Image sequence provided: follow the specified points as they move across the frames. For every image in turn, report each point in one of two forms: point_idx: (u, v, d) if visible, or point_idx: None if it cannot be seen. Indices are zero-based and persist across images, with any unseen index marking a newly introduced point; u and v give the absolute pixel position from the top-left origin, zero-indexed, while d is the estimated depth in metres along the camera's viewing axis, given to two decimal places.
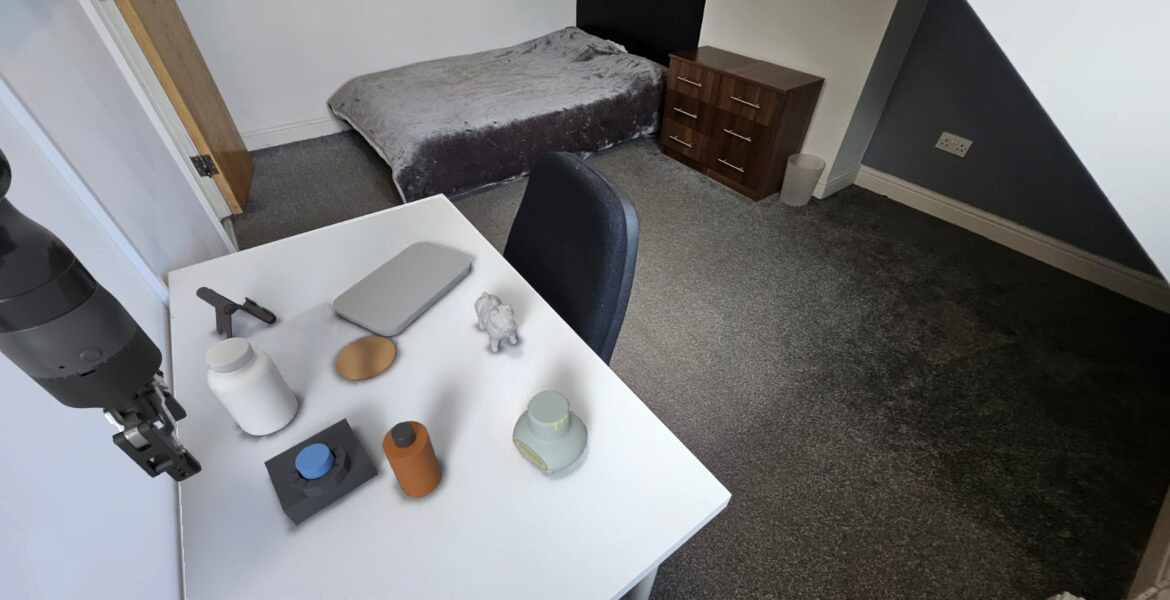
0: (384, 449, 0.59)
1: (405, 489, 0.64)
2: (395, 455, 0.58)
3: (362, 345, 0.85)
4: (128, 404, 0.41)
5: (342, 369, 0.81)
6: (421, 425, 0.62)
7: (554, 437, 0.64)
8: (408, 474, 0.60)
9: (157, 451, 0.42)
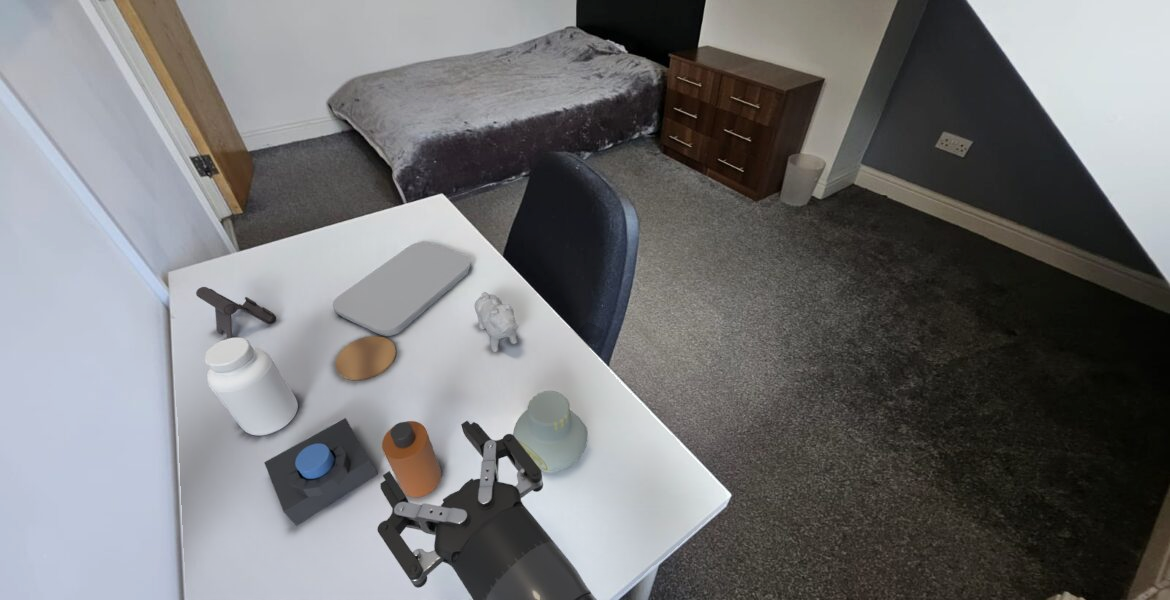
0: (384, 449, 0.59)
1: (405, 489, 0.63)
2: (395, 455, 0.58)
3: (362, 345, 0.85)
4: (451, 565, 0.40)
5: (342, 369, 0.81)
6: (421, 425, 0.62)
7: (554, 437, 0.64)
8: (408, 474, 0.60)
9: None
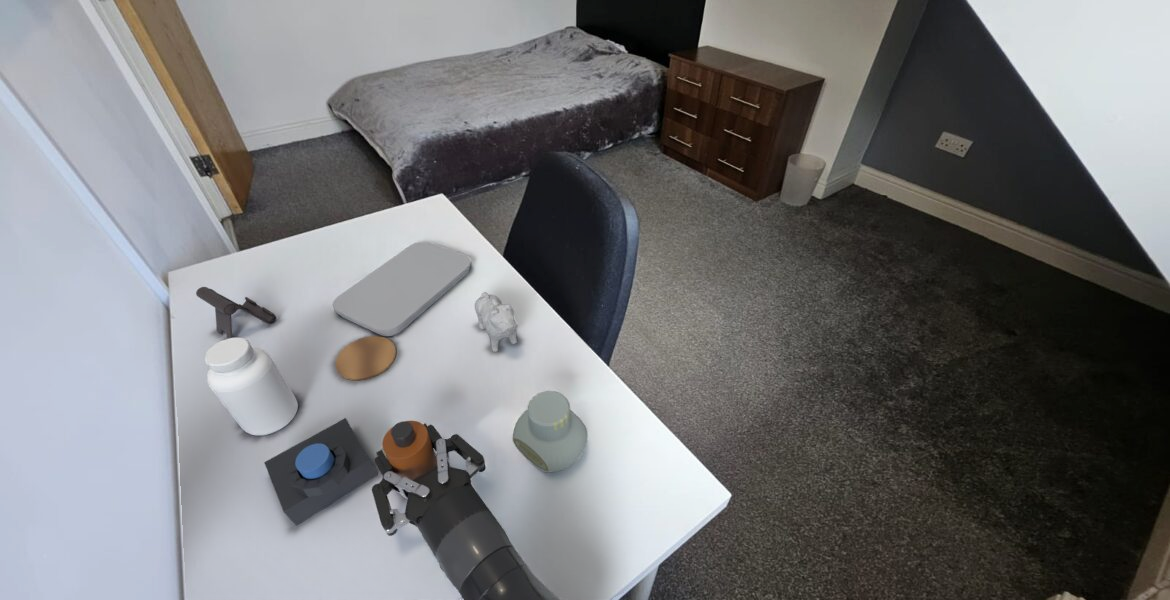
0: (384, 448, 0.59)
1: None
2: (395, 454, 0.58)
3: (362, 345, 0.85)
4: (416, 526, 0.56)
5: (342, 369, 0.81)
6: (421, 425, 0.62)
7: (554, 437, 0.64)
8: (408, 473, 0.60)
9: None
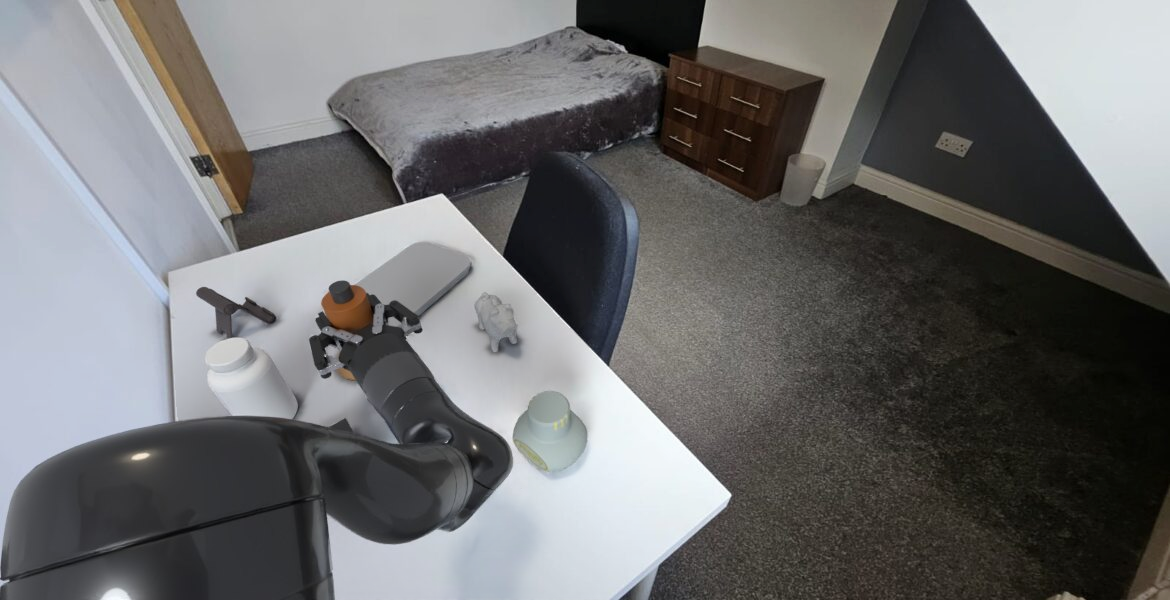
0: (322, 304, 0.62)
1: None
2: (332, 308, 0.61)
3: None
4: (349, 370, 0.59)
5: (342, 369, 0.81)
6: (360, 288, 0.65)
7: (554, 437, 0.64)
8: None
9: None
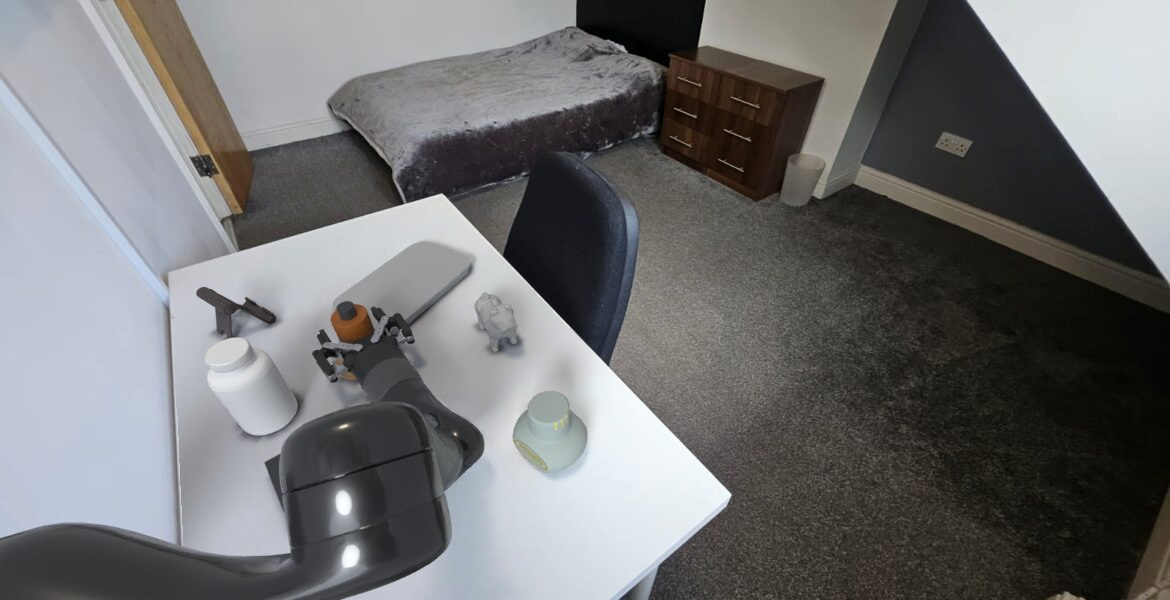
0: (331, 321, 0.75)
1: None
2: (340, 324, 0.75)
3: None
4: (352, 372, 0.71)
5: None
6: (362, 306, 0.78)
7: (554, 437, 0.64)
8: (351, 343, 0.77)
9: (321, 369, 0.72)
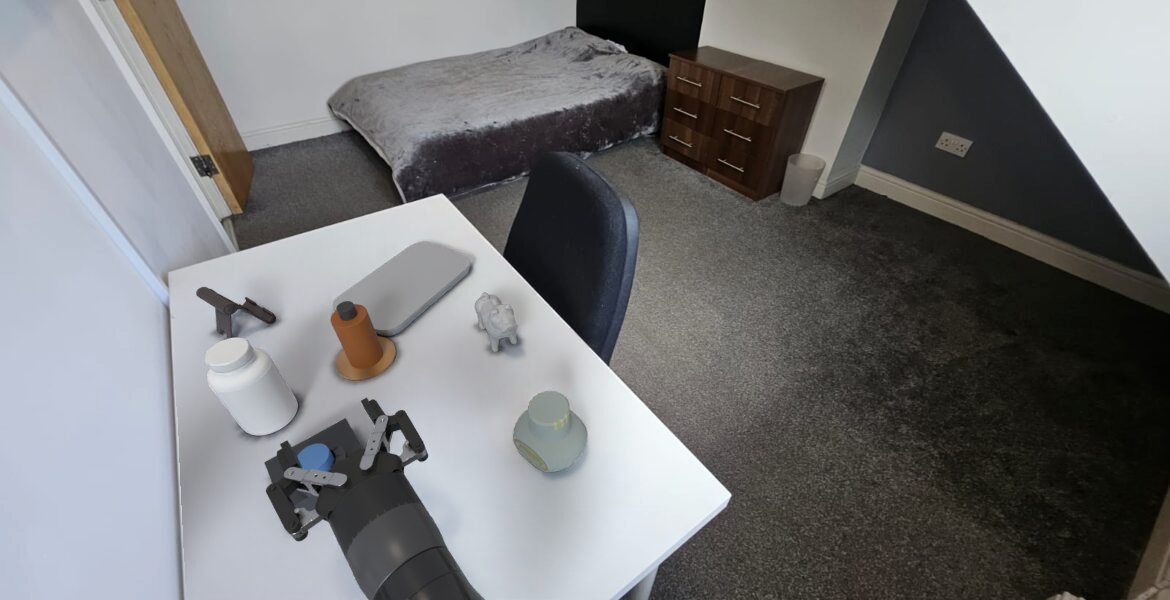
0: (331, 321, 0.75)
1: (351, 360, 0.80)
2: (340, 324, 0.75)
3: None
4: None
5: (342, 369, 0.81)
6: (362, 306, 0.78)
7: (554, 437, 0.64)
8: (351, 343, 0.77)
9: None
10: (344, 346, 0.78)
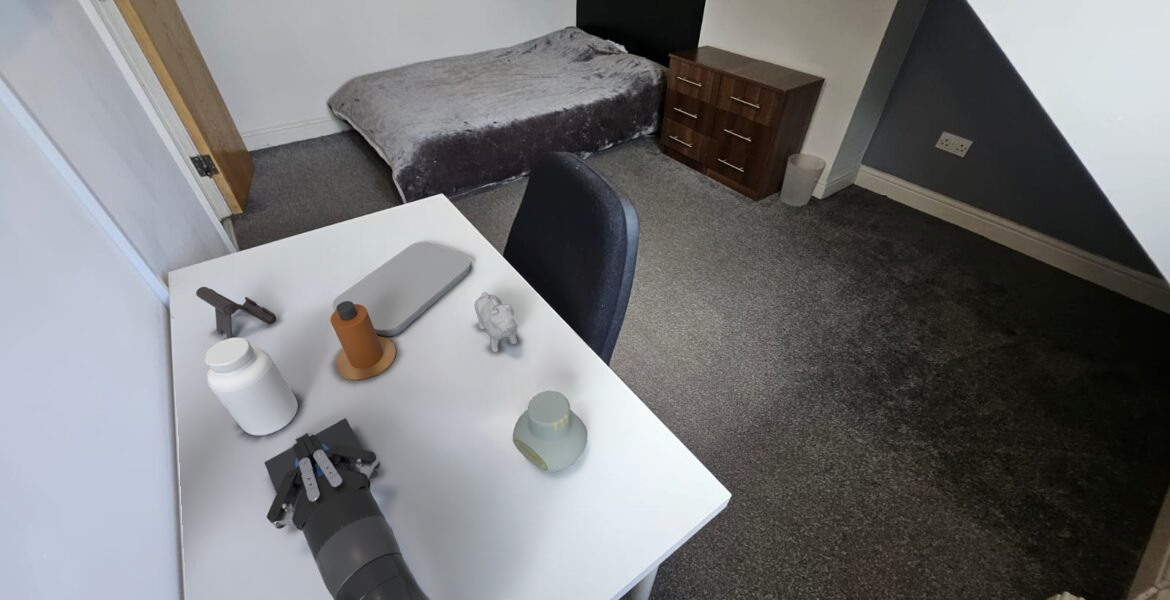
0: (331, 321, 0.75)
1: (351, 360, 0.80)
2: (340, 324, 0.75)
3: None
4: None
5: (342, 369, 0.81)
6: (362, 306, 0.78)
7: (554, 437, 0.64)
8: (351, 343, 0.77)
9: None
10: (344, 346, 0.78)
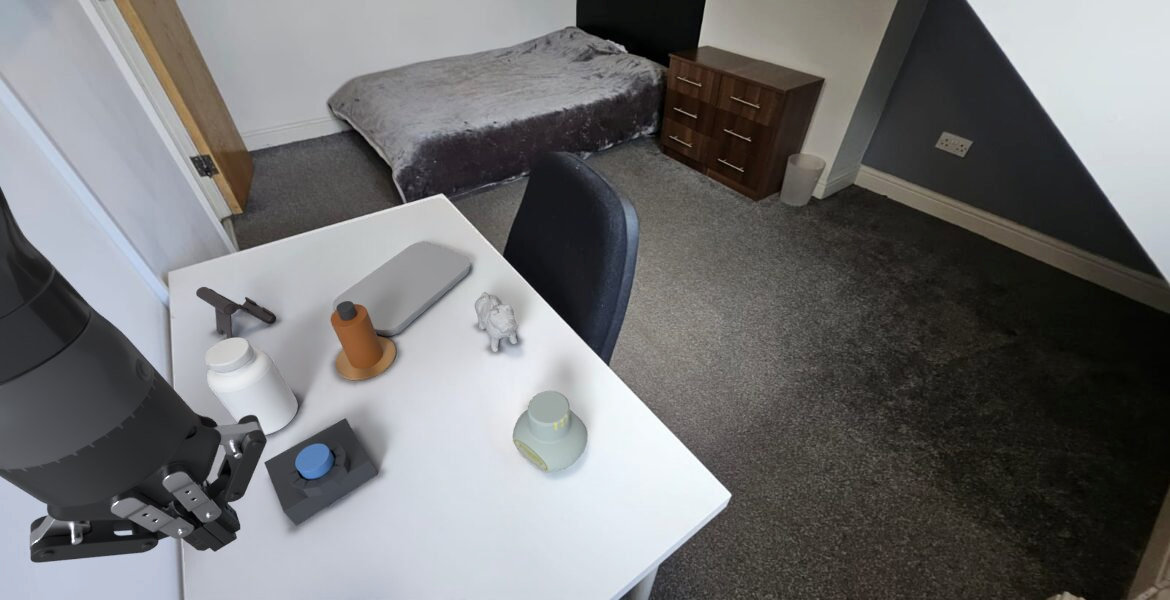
0: (331, 321, 0.75)
1: (351, 360, 0.80)
2: (340, 324, 0.75)
3: None
4: None
5: (342, 369, 0.81)
6: (362, 306, 0.78)
7: (554, 437, 0.64)
8: (351, 343, 0.77)
9: None
10: (344, 346, 0.78)
